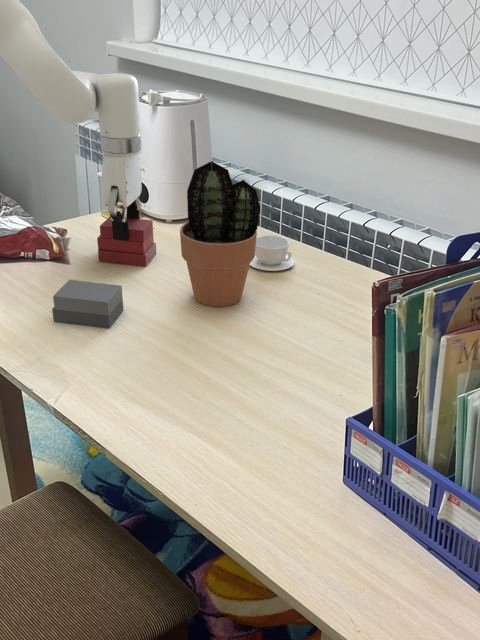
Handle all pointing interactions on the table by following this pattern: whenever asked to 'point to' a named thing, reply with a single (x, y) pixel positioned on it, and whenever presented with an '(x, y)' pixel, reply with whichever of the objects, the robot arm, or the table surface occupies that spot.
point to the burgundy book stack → (126, 251)
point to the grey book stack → (88, 303)
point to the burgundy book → (137, 229)
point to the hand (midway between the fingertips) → (126, 232)
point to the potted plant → (219, 235)
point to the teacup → (272, 253)
